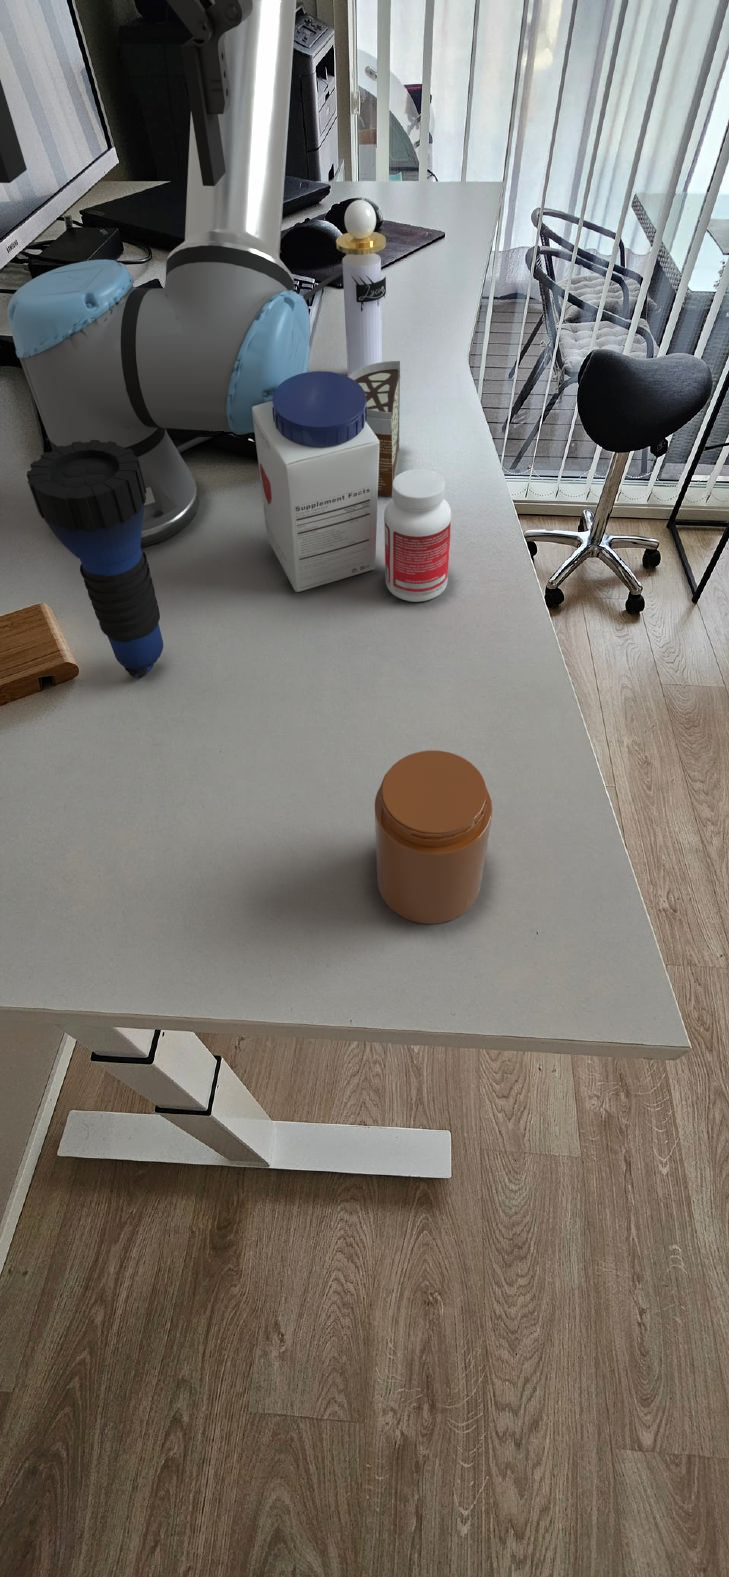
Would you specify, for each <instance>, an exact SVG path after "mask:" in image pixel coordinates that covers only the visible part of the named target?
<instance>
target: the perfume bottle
mask: <svg viewBox="0 0 729 1577" xmlns="http://www.w3.org/2000/svg"><path fill="white" fill-rule="evenodd" d="M343 221H344V226H345V229H346V232H345V233H342V234H341V235H339V236H338V237H337V238H336V240H335V246H336V249H337V251H339V252H340V253H343V254H346V255H344V257H342V260H341V262H342V264H341V265H342V269H343V275H342V281H343V282H342V283H343V284H342V285H343V286H342V287H343V304H344V326H345V346H346V366H347V377H348V376H349V375H351V374H352V373H353V372H355V371H356V370H358V369H360V368H362V367H365V366H368V365H371V364H375V363H380V362H383V319H382V318H383V313H382V312H383V311H382V298H386V295H387V276H386V275H385V276H384V277H383V278H382V259H381V256H380V255H379V254H377V253H379V252H381V251H382V250H384V249H385V248H386V247H387V246H386V245H387V238H386V237H385V235H384V234H382V233H379V232H376V231H375V228H376V224H377V214H376V211H375V209H374V207H373V206H372V204H371V203H370V202H368V201H366V200H364V199H356V200H354V201H352V202H351V203H350V204H349V205H348V206H347V208H346V210H345V213H344V219H343Z"/></svg>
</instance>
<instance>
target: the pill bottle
mask: <svg viewBox="0 0 729 1577" xmlns="http://www.w3.org/2000/svg"><path fill="white" fill-rule="evenodd" d="M445 496H446V481H445V478H444V477H443V476H441V474H439V473H438V472H435V471H433V470H429V469H422V468H418V469H417V468H415V469H408V470H405V471H403V472H400V473H399V474H396V477H395V478H394V480H393V484H392V497H391V499H390V500H389V501H388V502H387V505H386V506H385V509H384V515H383V516H384V517H383V521H384V522H383V525H384V573H385V574H384V576H385V578H384V579H385V585H386V588H387V590H388V591H389V593H391V594H392V595H393V596H394V597H396V598H398V599H400V600H403V601H406V602H412V603H413V602H414V603H417V602H419V603H420V602H426V601H430V600H433V599H435V598H436V597H439V596H440V595H441V594H442V593H443V592H444V591H445V590H446V588H447V586H448V580H449V567H450V548H451V532H452V531H451V530H452V509H451V506H450V504H449V502H448V501H447V500H446V499H445Z"/></svg>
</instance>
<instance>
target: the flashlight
mask: <svg viewBox="0 0 729 1577" xmlns="http://www.w3.org/2000/svg"><path fill="white" fill-rule="evenodd" d="M29 466H30V470H27V472H26V478H27V484H28V487H29V490H30V493H31V496H32V498H33V500H34V503H35V506H36V509H37V512H38V513H39V516H40V517H41V518H42V519H43V520H44V522H45V523H46V524H47V526H48V528H49V529H50V531H51V532H52V533H53V534H54V536H55V537H56V538H57V539H58V541H59V542H60V543H61V545H63V546H64V547H65V548H66V549H67V550H68V551H69V553H71V554H72V555H73V556H75V557H76V558H77V559H79V561H80V565H79V572H80V575H81V578H83V582H84V586H85V589H86V590H87V595H88V598H89V600H90V602H91V606H92V609H93V611H94V614H95V617H96V619H97V620H98V624H99V628H100V630H101V632H102V633H103V635H105V636H107V638H108V641H109V645H110V646H111V649H112V652H113V654H114V657H115V659H116V661H117V662H118V663H119V664H120V665H121V666H123V667H124V670H125V671H126V672H127V674H128V675H129V676H131V677H132V678H133V679H141V678H143V677H145V676H147V675H148V674H149V673H150V671H151V670H152V669H153V667H154V664H155V663H157V661H158V659H160V657H161V655H162V652H163V650H164V640H163V636H162V632H161V627H160V624H159V623H160V620H161V612H160V606H159V604H158V599H157V596H156V591H155V590H156V589H155V585H154V580H153V578H152V575H151V568H150V565H149V560H148V557H147V554H146V553H145V551H143V552H142V547H140V544H141V536H142V524H143V516H144V504H145V502H146V495H145V494H146V493H147V492H146V488H145V484H144V480H143V476H142V472H141V468H140V464H139V460H138V457H137V456H136V457H135V454H134V451H132V450H131V449H130V448H129V449H125V448H123V447H122V446H119V445H117V444H116V443H115V442H112V441H108V442H107V443H106V442H100V441H99V440H91V441H90V442H83V443H82V442H81V441H78V442H72V444H71V445H68V446H63V445H62V446H58V447H55V450H53V449H52V451H50V452H47V451H45V452H43V453H41V454H40V458H39V459H38V460H34V461H32V462H31V464H30V465H29Z"/></svg>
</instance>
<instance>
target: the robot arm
mask: <svg viewBox="0 0 729 1577" xmlns="http://www.w3.org/2000/svg"><path fill="white" fill-rule="evenodd" d="M165 1H166V2H167V3H168V5H169V6H170V7H171V9H172V10H173V11H174V13H175V14H176V15H177V17H178V18H179V19H180V21H181V22H182V23H183V24H184V26H185V27H186V28H187V30H188V31H189V33H190V34H191V35H192V37H191V38H190V39H188V40H187V41H186V42H184V43H183V44H182V45H181V46H180V49H181V55H182V62H183V70H184V74H185V79H186V80H185V81H186V87H187V94H188V99H189V106H190V126H189V145H188V164H187V166H188V167H187V188H186V205H185V206H186V207H185V208H186V209H185V211H186V212H185V228H184V241H183V242H181V243H180V244H179V245H177V246H176V247H175V248H174V249H173V250H171V251H170V252H169V254H168V255H167V258H166V262H165V263H166V264H165V282H164V286H163V287H162V288H157V287H155V288H154V287H151V288H148V287H136V286H134V284H135V280H134V276H133V275H132V274H131V272H130V270H129V268H128V267H127V266H126V264H124V263H122V262H118V261H117V260H113V259H91V260H84V261H80V262H74V263H70V264H66V265H64V266H63V265H62V266H60V267H57V268H55V269H52V270H49V271H47V272H44V273H42V274H40V275H37V276H36V277H35V278H32V279H30V280H29V281H28V282H26V283H24V284H23V285H22V286H21V287H20V288H18V289H17V290H16V291H15V292H14V294H13V295H12V296H11V297H10V300H9V302H8V304H7V310H6V316H7V321H8V325H9V330H10V332H11V337H12V340H13V343H14V347H15V355H16V357H17V358H18V359H19V361H20V364H21V367H22V369H23V372H24V374H25V377H26V380H27V383H28V385H29V388H30V391H31V394H32V396H33V399H34V402H35V405H36V408H37V410H38V413H39V416H40V420H41V422H42V424H43V426H44V430H45V432H46V435H47V437H48V440H49V443H50V446H51V449H52V451H53V450H55V447H58V446H62V445H63V446H68V445H71V444H72V442H78V441H81V442H82V443H83V442H90V441H91V440H99V441H100V442H106V443H107V442H108V441H112V442H115V443H116V444H117V445H119V446H122V447H123V448H125V449H129V448H130V449H131V450H132V451H134V454H135V457H136V456H137V457H138V460H139V464H140V468H141V472H142V476H143V480H144V484H145V488H146V492H147V493H146V494H145V495H146V502H145V504H144V516H143V524H142V536H141V544H140V548H144V547H148V546H152V545H154V544H157V543H161V542H162V541H165V540H167V539H169V538H170V537H173V536H174V535H175V534H178V533H179V532H180V531H182V530H183V529H184V528H186V527H187V526H188V525H189V524H190V523H191V522H192V520H193V519H194V518H195V516H196V514H197V513H198V510H199V507H200V496H199V491H198V487H197V483H196V479H195V477H194V475H193V473H192V472H191V470H190V468H189V466H188V465H187V464H186V462H185V461H184V459H183V457H182V456H181V453H183V452H185V451H187V450H189V449H192V448H193V447H195V446H198V445H200V444H202V443H204V442H207V441H209V440H211V439H213V438H214V437H199V436H197V437H195V438H193V439H191V440H188V441H187V442H185V443H182V444H180V445H178V446H176V445H175V444H174V442H173V440H172V438H171V437H170V436H169V433H168V431H167V429H173V430H174V429H175V430H191V431H209V432H211V431H224V433H226V432H227V433H233V434H235V435H246V434H249V433H255V431H254V423H253V413H252V407H253V406H256V405H259V404H262V403H266V402H270V401H273V394H274V392H275V390H276V388H277V387H278V386H279V385H280V384H281V383H282V382H284V381H285V380H287V379H288V378H290V377H292V376H295V375H298V374H301V373H306V372H309V363H310V355H311V346H310V339H311V338H310V337H311V318H310V312H309V306H308V305H307V302H308V300H310V299H311V298H312V297H313V296H314V295H315V294H317V293H318V292H319V291H320V290H322V289H323V288H325V287H326V286H328V285H329V284H330V283H332V282H335V281H336V280H337V279H339V278H340V277H343V268H342V269H340V270H338V271H337V272H335V273H333V274H331V275H330V276H328V277H327V278H325V279H324V280H322V281H321V282H320V283H318V284H317V285H315V286H314V287H313V288H311V289H310V290H309V291H308V292H307V293H305V295H304V296H302V295H301V294H299V293H297V292H296V291H295V279H294V276H293V274H292V272H291V271H290V270H289V268H288V267H287V266H286V265H285V263H284V262H283V261H282V260H281V258H280V255H281V254H280V253H281V241H282V240H281V239H282V227H283V226H282V224H283V210H284V209H283V208H284V194H285V180H286V164H287V150H288V148H287V146H288V131H289V118H290V102H291V101H290V100H291V87H292V86H291V85H292V72H293V71H292V70H293V58H294V57H293V56H294V42H295V41H294V40H295V27H296V26H295V25H296V10H297V0H165ZM27 170H28V168H27V164H26V161H25V158H24V155H23V151H22V148H21V144H20V140H19V137H18V134H17V130H16V128H15V124H14V120H13V118H12V114H11V111H10V107H9V104H8V100H7V97H6V93H5V90H4V86H3V84H2V80H1V79H0V184H11V183H12V182H14V181H15V180H16V179H17V178H18V177H19V176H21V175H22V174H24V172H26V171H27Z"/></svg>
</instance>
